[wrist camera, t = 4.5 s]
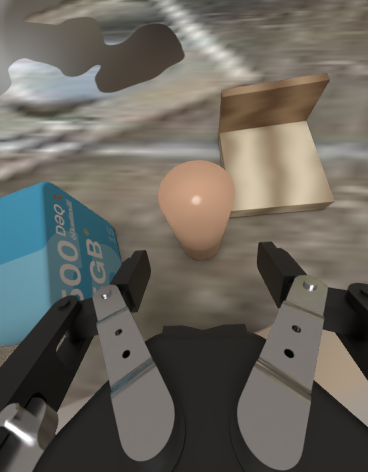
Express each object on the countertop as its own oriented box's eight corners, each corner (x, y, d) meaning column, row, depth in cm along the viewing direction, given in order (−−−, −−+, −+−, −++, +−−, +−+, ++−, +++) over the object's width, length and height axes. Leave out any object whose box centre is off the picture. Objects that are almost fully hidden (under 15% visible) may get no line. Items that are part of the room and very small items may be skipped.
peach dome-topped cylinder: (182, 261, 22) (157, 231, 11) (180, 224, 24) (158, 165, 13) (223, 259, 22) (240, 224, 11) (218, 221, 24) (229, 156, 12)
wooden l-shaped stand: (228, 217, 24) (237, 188, 17) (218, 138, 28) (221, 90, 21) (323, 209, 22) (373, 174, 16) (296, 127, 27) (326, 72, 20)
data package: (132, 309, 22) (49, 329, 10) (98, 321, 22) (-22, 354, 10) (114, 225, 25) (39, 172, 14) (85, 236, 25) (-12, 191, 14)
